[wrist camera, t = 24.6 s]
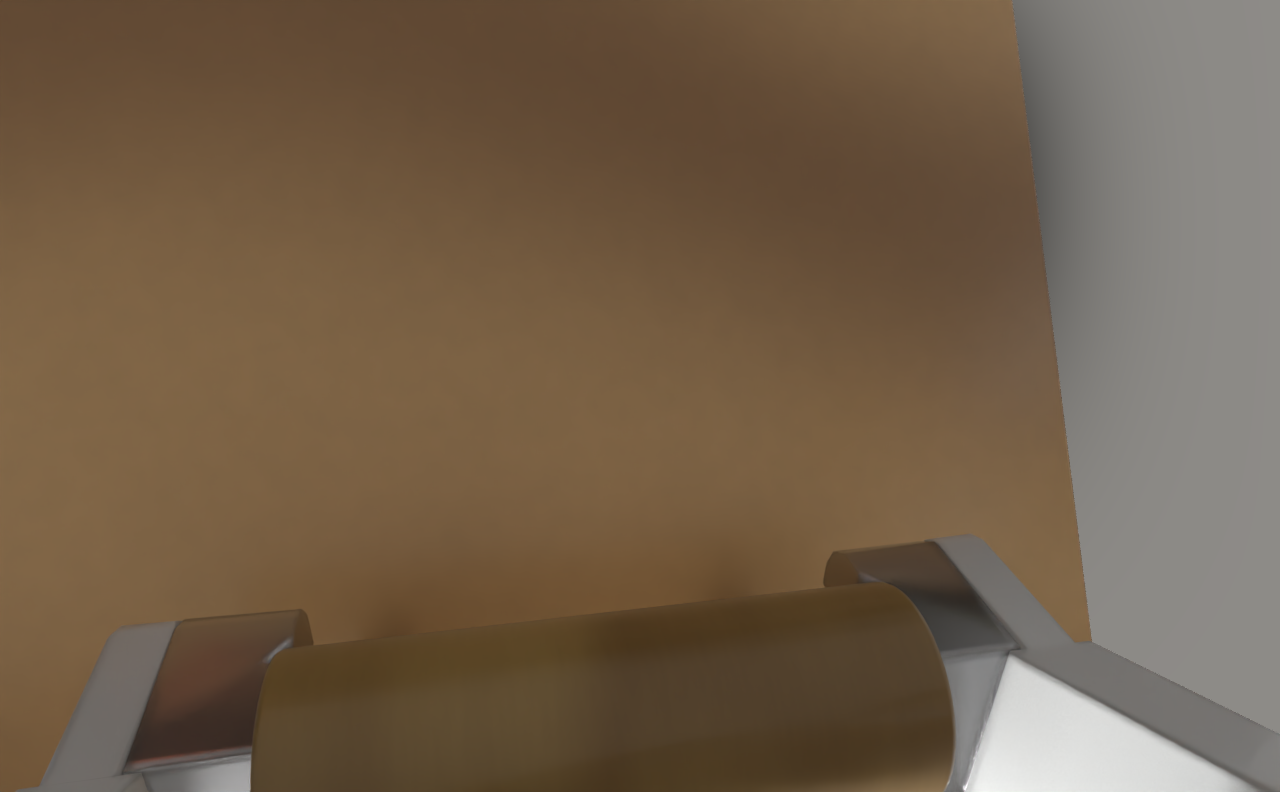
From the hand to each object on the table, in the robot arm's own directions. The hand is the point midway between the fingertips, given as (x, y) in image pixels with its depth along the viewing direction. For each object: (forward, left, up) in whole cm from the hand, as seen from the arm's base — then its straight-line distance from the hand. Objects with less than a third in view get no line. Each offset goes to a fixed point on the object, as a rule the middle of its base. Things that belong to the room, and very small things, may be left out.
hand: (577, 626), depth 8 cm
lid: (0, -4, -5) cm, 7 cm away
